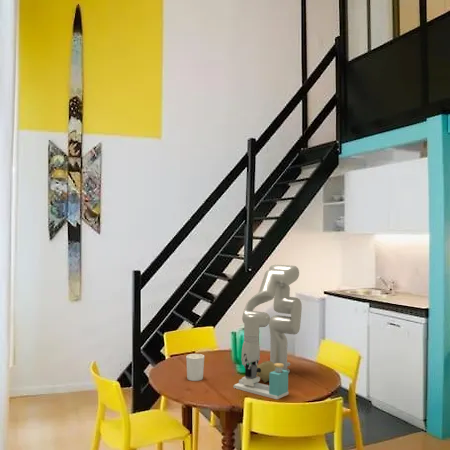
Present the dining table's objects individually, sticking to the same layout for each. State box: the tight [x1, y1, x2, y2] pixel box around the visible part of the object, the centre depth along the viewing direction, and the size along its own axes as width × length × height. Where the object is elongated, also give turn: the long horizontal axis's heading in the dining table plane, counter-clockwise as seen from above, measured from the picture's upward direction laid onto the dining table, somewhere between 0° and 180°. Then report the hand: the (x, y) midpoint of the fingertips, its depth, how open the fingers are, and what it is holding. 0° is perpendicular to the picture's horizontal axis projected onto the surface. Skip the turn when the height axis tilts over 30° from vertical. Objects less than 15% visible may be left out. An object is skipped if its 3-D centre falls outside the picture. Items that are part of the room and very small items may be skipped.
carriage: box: [241, 363, 261, 387], centre depth 252 cm, size 7×6×10 cm
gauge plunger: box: [274, 363, 284, 373], centre depth 242 cm, size 4×4×7 cm
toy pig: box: [256, 360, 276, 384], centre depth 264 cm, size 10×12×11 cm
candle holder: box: [185, 353, 205, 382], centre depth 267 cm, size 10×10×12 cm
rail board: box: [233, 370, 289, 400], centre depth 248 cm, size 10×26×12 cm, turn 52°
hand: (250, 374), depth 252 cm, fingers closed on carriage, 4 cm apart
